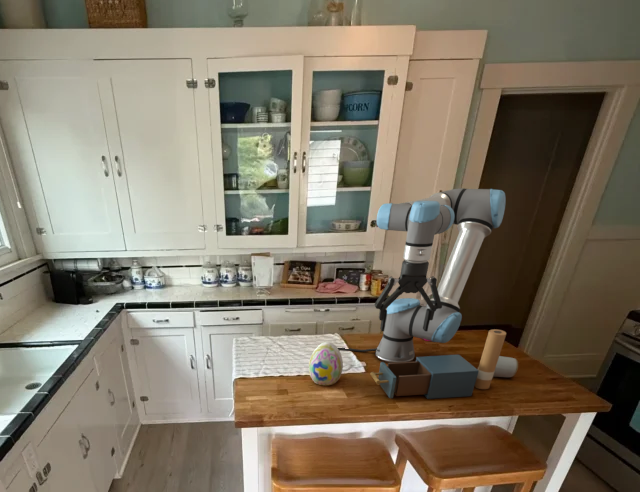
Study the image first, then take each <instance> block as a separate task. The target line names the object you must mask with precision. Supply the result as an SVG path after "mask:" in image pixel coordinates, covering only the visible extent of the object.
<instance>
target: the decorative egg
mask: <svg viewBox="0 0 640 492" xmlns="http://www.w3.org/2000/svg"><path fill="white" fill-rule="evenodd" d="M337 347H338V346H336V345H335V344H334V343H332V342H331V341H324V342H322V343H321V344H319V345H318V346H316V347H315V349H313V352H312V353H311V355H310V358H309V362H308V372H309V377H310V378H311V380H312V381H313V382H314V383H315V384H316V385H319V386H323V387H324V386H325V387H326V386H332V385H334V384H336V383H337V382H338V381H339V380H340V378H341V376H342V374H343V370H344V361H343V357H342V354H341V350H339V349H338V348H337Z"/></svg>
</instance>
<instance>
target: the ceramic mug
mask: <svg viewBox="0 0 640 492" xmlns="http://www.w3.org/2000/svg"><path fill="white" fill-rule="evenodd" d="M518 369H519V361H518V359H517V358H515V357H514V358H513V357H510V356H502V355H499V358H498V362H497V365H496V368H495V372H494V375H493V378H494V377H495V378H512V377H513V378H514V377H515V376H516V374H517V371H518Z"/></svg>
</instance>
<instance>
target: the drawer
mask: <svg viewBox="0 0 640 492" xmlns="http://www.w3.org/2000/svg"><path fill="white" fill-rule="evenodd" d="M369 376H370V377H371V379H372V381H374V382H375V384H376V385H379V386H380V387H381V389H382V390H383V391H384V393H385V394H386V395H387V397H388V398H389V399H394V396H395V397H402V396H403V397H404V396H417V395H418V396H419V395H424V394H428V389H429V385H430V381H431V376H432V374H431V373H430V372H429V371H428V370H427V369H426V368H425V367H424V366H423V365H422V364H421V363H420V362H419V361H416V360H415V361H412V362H398V363H387V364H386V362H383V361H380V364H379V371H378V372H374V371H370V372H369Z"/></svg>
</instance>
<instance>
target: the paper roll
mask: <svg viewBox="0 0 640 492" xmlns="http://www.w3.org/2000/svg"><path fill="white" fill-rule="evenodd" d="M506 336H507V332H506V331H505V330H502V329H497V328H496V329H495V328H494V329H490V330H488V333H487V337H486V340H485V342H484V343H485V344H484V346H483V351H482V353H481V357H480V361H479V364H478V366H477V370H478V371H479V372H478V376H477V379H476V382H475V386H474V388H476V389H480V390H488V389H490V387H491V383H492V380H493V378H494V376H493V375H494V372H495V368H496V365H497V362H498V358H499V356H501V352H502V349H503V347H504V342H505V340H506Z"/></svg>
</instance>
